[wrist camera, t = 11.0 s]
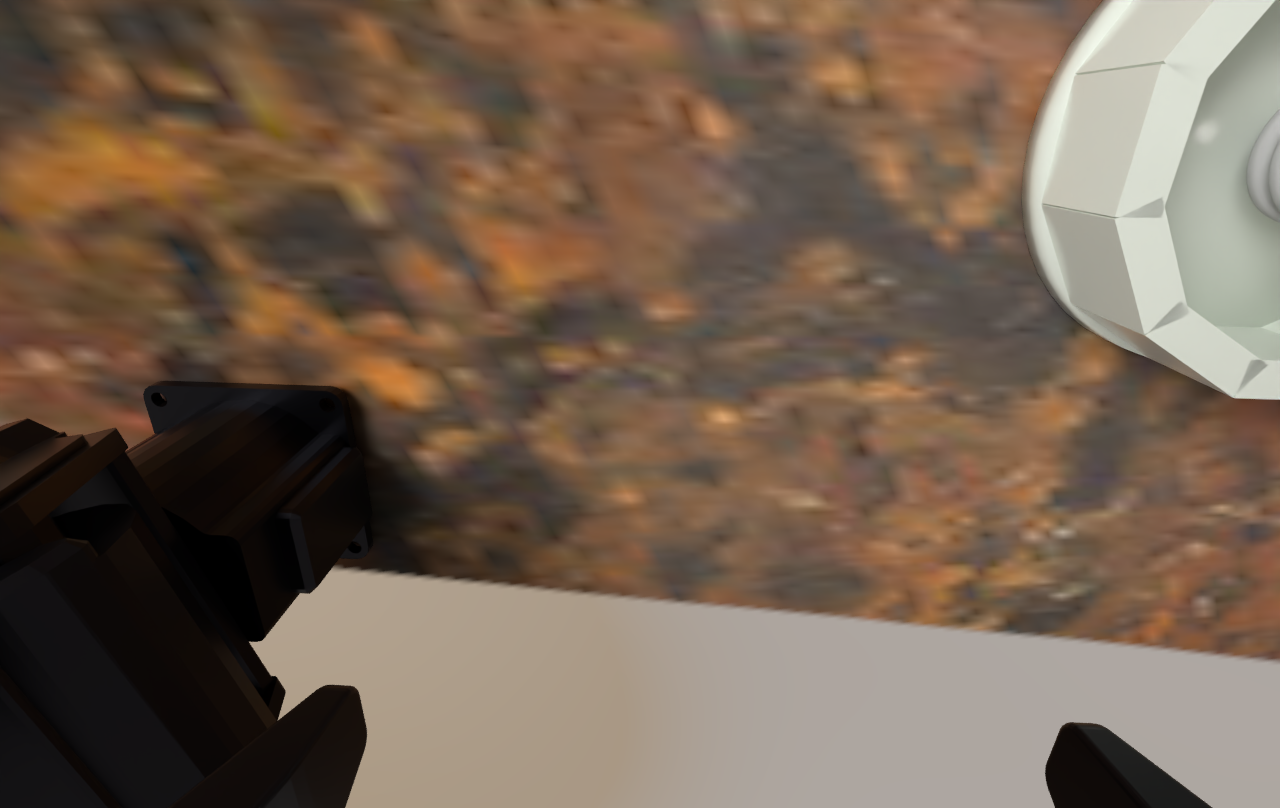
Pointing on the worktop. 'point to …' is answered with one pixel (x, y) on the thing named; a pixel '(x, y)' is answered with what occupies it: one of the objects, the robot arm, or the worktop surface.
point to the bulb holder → (1163, 187)
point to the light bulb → (1266, 170)
